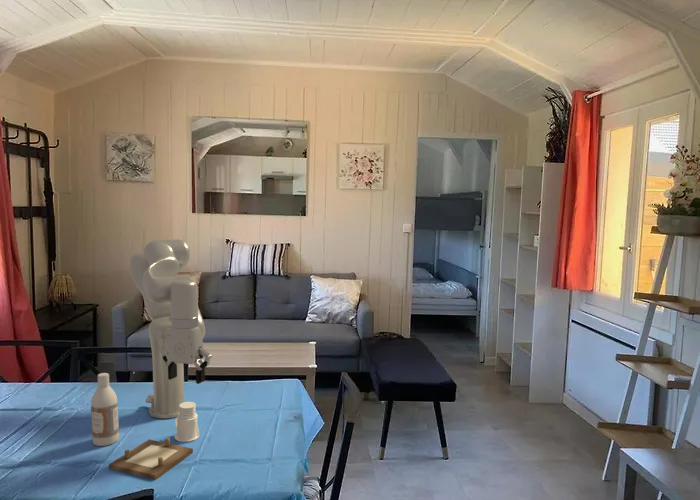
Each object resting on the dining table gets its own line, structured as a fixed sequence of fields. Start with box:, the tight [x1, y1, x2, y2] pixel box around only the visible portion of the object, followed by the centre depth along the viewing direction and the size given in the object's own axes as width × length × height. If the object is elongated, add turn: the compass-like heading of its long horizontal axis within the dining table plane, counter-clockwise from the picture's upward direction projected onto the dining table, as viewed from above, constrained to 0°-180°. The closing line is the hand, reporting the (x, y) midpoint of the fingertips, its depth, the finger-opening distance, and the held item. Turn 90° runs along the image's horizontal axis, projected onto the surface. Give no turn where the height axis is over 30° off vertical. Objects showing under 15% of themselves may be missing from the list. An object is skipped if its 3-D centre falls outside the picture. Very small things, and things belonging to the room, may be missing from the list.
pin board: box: [108, 437, 194, 481], centre depth 143 cm, size 15×15×3 cm
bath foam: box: [90, 372, 120, 447], centre depth 153 cm, size 7×7×20 cm
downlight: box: [174, 401, 200, 443], centre depth 157 cm, size 8×7×10 cm
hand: (186, 380), depth 155 cm, fingers open, 9 cm apart
